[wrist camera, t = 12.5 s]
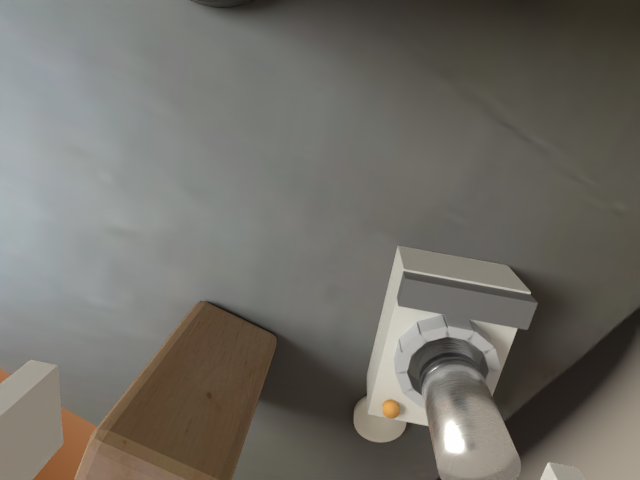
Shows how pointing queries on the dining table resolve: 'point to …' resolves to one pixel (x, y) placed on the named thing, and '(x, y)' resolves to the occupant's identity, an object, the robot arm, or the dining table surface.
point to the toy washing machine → (441, 323)
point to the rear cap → (376, 424)
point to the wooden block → (186, 404)
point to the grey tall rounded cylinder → (463, 415)
